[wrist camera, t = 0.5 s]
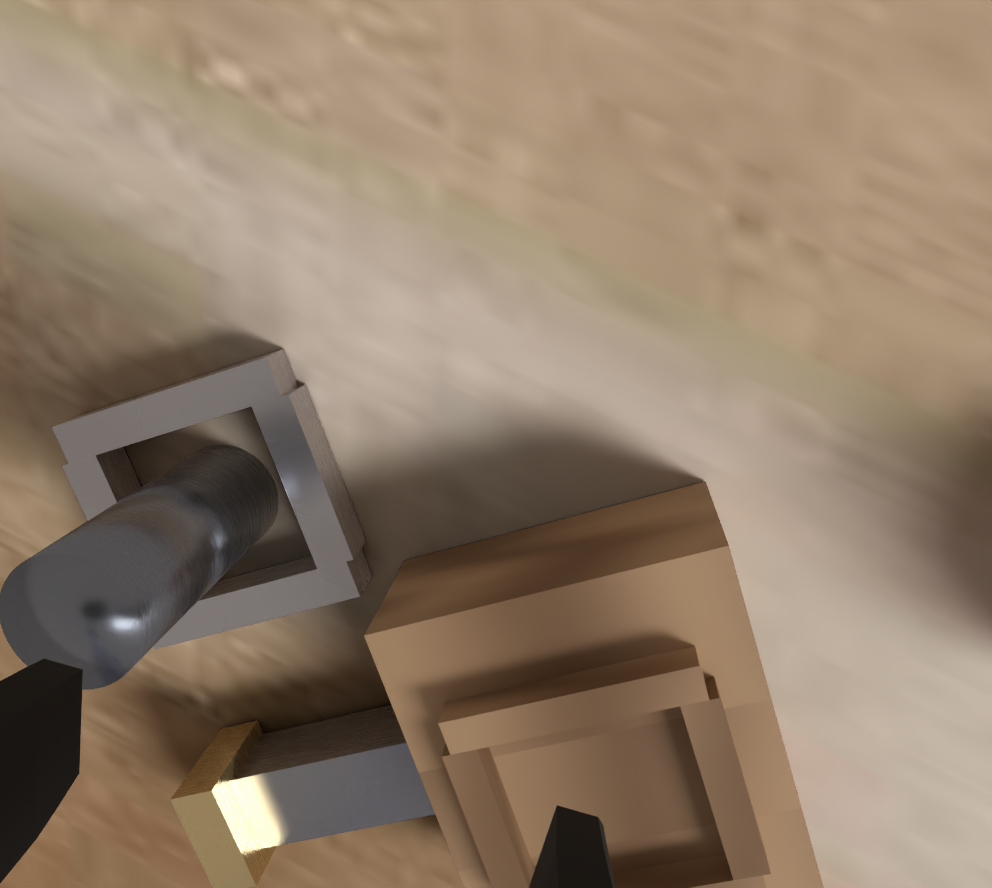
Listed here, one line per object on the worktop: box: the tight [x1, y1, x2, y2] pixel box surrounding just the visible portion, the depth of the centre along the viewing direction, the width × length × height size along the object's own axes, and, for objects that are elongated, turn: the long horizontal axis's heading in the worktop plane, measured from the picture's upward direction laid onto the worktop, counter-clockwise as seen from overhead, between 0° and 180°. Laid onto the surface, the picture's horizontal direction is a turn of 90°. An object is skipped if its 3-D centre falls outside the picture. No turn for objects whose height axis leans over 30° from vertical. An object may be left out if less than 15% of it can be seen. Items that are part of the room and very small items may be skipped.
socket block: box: [364, 482, 823, 888], centre depth 20 cm, size 8×10×5 cm
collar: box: [52, 349, 372, 649], centre depth 22 cm, size 6×6×1 cm
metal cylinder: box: [0, 445, 278, 689], centre depth 19 cm, size 3×3×7 cm
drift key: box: [170, 705, 435, 888], centre depth 22 cm, size 9×3×3 cm, turn 108°
